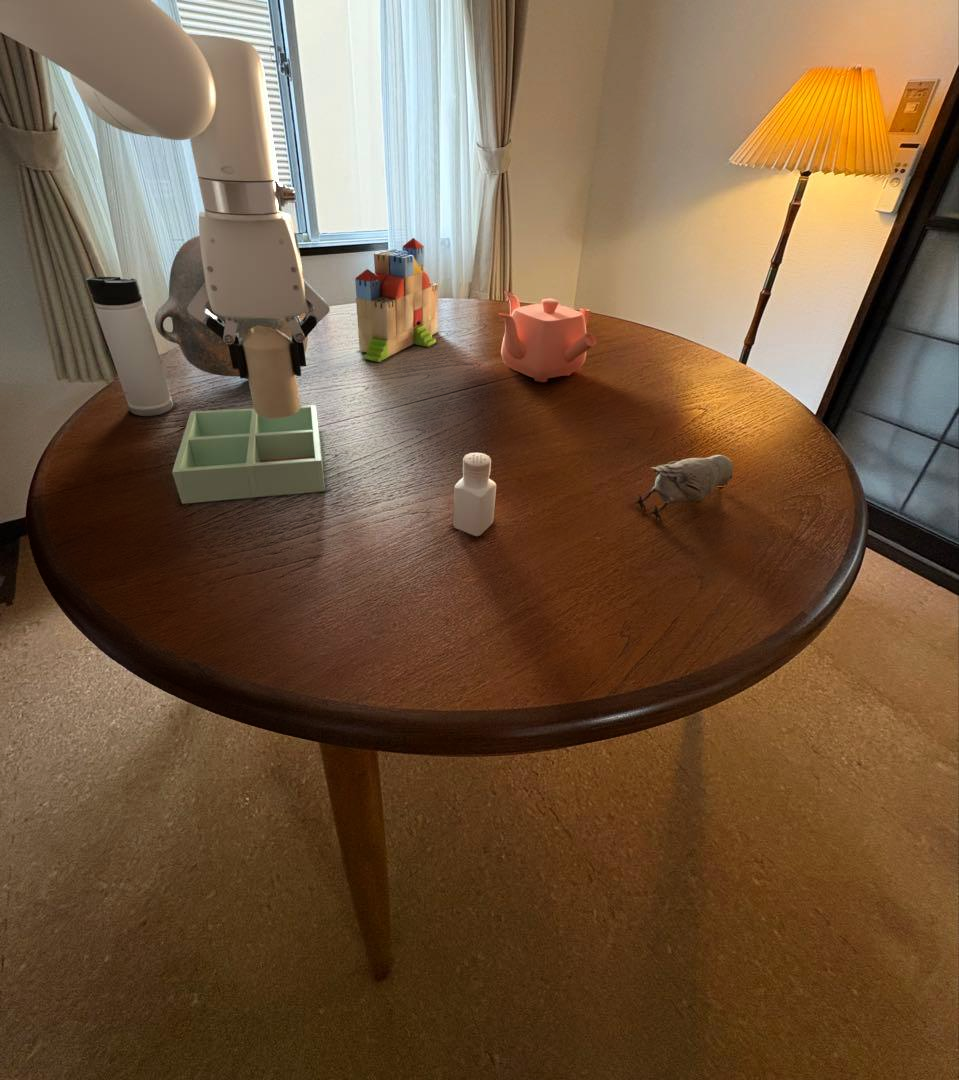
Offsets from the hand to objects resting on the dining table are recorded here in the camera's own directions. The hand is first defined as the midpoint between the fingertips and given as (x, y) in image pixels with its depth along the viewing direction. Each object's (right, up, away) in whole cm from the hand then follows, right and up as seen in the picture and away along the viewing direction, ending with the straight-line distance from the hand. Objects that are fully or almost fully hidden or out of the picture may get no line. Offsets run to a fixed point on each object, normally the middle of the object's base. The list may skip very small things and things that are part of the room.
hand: (271, 371), depth 68 cm
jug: (-16, +9, +35) cm, 40 cm away
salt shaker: (+24, -19, +2) cm, 31 cm away
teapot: (+37, +14, +47) cm, 62 cm away
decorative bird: (+53, -15, +10) cm, 56 cm away
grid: (-6, -10, +11) cm, 16 cm away
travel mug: (-28, +1, +23) cm, 36 cm away
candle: (0, -4, +3) cm, 5 cm away
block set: (+8, +24, +57) cm, 62 cm away
